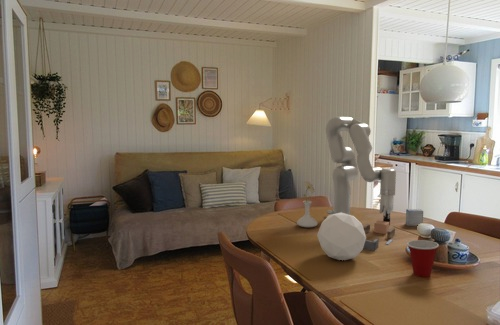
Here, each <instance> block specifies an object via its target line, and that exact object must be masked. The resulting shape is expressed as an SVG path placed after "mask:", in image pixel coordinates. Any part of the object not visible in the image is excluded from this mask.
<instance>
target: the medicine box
mask: <svg viewBox="0 0 500 325" xmlns="http://www.w3.org/2000/svg"><path fill="white" fill-rule="evenodd" d="M405 212H406V213H405V225H407V227H413V226H414V227H418V226H417V225H418V224H420V223H423V224H424V210H423V209H422V208H421V209H420V208H406V209H405Z"/></svg>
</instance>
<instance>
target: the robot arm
mask: <svg viewBox="0 0 500 325" xmlns="http://www.w3.org/2000/svg"><path fill="white" fill-rule="evenodd" d="M371 131H372V130H371V128H370V126H369V125H368V124H367V123H365V122H363V121H360V120H358V119H356V118H353V117H350V116H339V115H338V116H333V117H332V118H330V119H328V121H327V123H326V126H325V135H326V139H327V142H328V148H329V153H330V157H331V158H330V159H331V160H332V162H333V163H335V164H341V165H338V166H336V167H335V168H334V169H333V170H332V181H333V210H331V209H327V210H326V212H327V215H332V214H336V213H340V212H342V213H345V214H348V215H351V184H350V181H352V180H355V179H357V177H358V175H359V172H360V176H361V178H362V179H363V180H364V181H365V182H367V183H373V182H378V181H380V185H379V186H380V187H379V188H380V189H379V190H380V192H379V194H380V202H379V213H380V214H382V217H383V218H382V219H383V220H382V221H385V222H389V227H390V226H391V214H392V212H393V210H394V197H395V196H396V182H397V181H396V180H397V178H396V177H397V171H396V170H395V169H394V168H383V167H381V166H380V167H379V166H375V167H373V166H372V164H371V161H370V154H371V152H372V151H373V147H372V144H371V142H370V138H369V137H370V135H371ZM341 132H347V133H348V134H349V137H350V139H351V142H352V144H353V147H354V149H355V151H356V154H357V155H356V154H355V152H354V150H353V149H352V148H351V147H349V146H345V144H344V138H343V136H342V135H341Z"/></svg>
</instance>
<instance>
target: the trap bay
mask: <svg viewBox="0 0 500 325" xmlns="http://www.w3.org/2000/svg"><path fill="white" fill-rule="evenodd" d="M379 242H380V241H379V238H375V239H374V240H368V239H366V240H365V243H364V247H363V250H365V251H370V250H371V252H376V250H377V249H379Z"/></svg>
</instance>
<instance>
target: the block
mask: <svg viewBox="0 0 500 325" xmlns="http://www.w3.org/2000/svg"><path fill="white" fill-rule="evenodd" d="M373 227H374V228H373V230H374V231H373V233H377V234H384V235H387V231H389V230H390V226H389V222H385V221H383V220H377V221H375V222H374V226H373Z"/></svg>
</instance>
